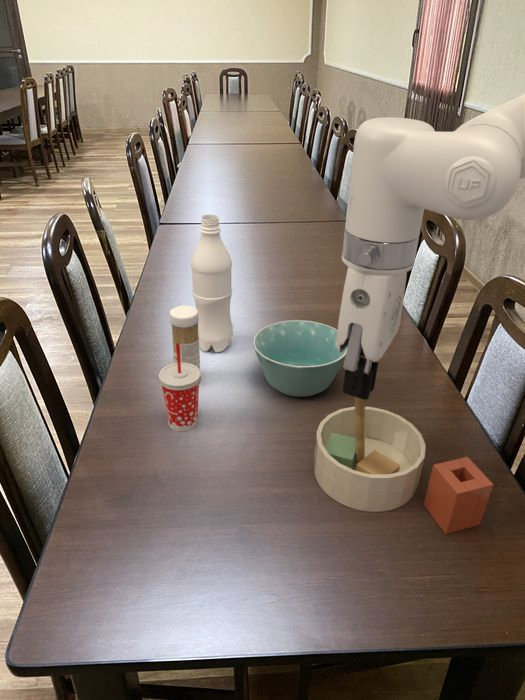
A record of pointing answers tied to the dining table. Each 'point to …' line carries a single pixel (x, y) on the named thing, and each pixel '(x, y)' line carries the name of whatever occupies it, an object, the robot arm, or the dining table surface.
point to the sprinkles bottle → (186, 334)
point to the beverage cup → (181, 393)
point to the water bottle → (212, 287)
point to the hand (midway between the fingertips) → (358, 390)
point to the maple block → (377, 464)
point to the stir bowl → (381, 435)
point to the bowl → (298, 356)
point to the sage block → (342, 449)
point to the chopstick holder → (457, 494)
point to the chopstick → (359, 428)
